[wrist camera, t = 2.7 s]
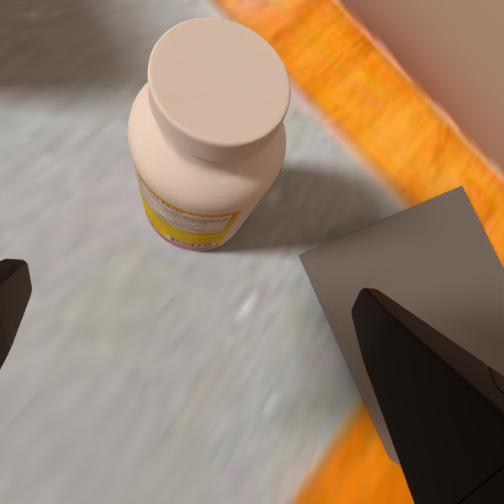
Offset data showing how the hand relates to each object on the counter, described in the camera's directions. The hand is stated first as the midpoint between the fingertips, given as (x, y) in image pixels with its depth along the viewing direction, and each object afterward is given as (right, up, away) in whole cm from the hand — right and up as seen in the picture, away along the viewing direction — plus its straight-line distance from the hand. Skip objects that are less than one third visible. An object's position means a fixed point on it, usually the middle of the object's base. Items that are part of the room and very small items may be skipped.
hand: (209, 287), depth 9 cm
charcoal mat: (+14, -3, +16) cm, 22 cm away
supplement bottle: (-3, +4, +14) cm, 15 cm away
